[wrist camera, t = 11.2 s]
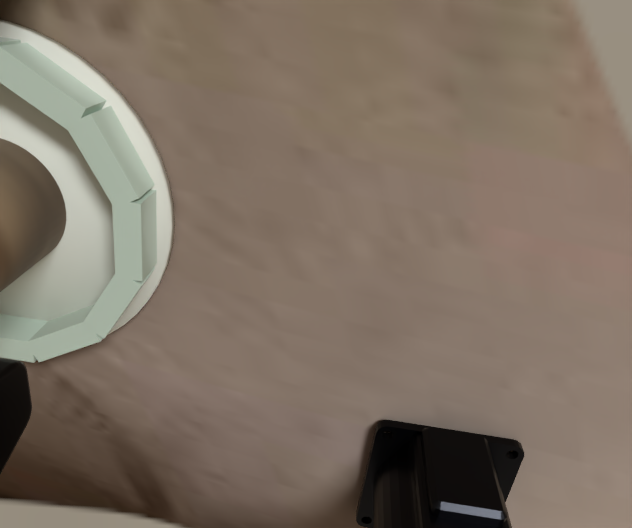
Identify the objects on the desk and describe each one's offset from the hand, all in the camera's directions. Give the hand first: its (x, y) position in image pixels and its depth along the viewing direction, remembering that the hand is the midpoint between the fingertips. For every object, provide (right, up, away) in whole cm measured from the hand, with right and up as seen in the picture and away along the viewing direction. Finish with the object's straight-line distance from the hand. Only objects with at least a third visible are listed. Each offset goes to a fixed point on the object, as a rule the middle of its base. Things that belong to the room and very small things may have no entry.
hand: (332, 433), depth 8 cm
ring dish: (-12, +5, +13) cm, 19 cm away
